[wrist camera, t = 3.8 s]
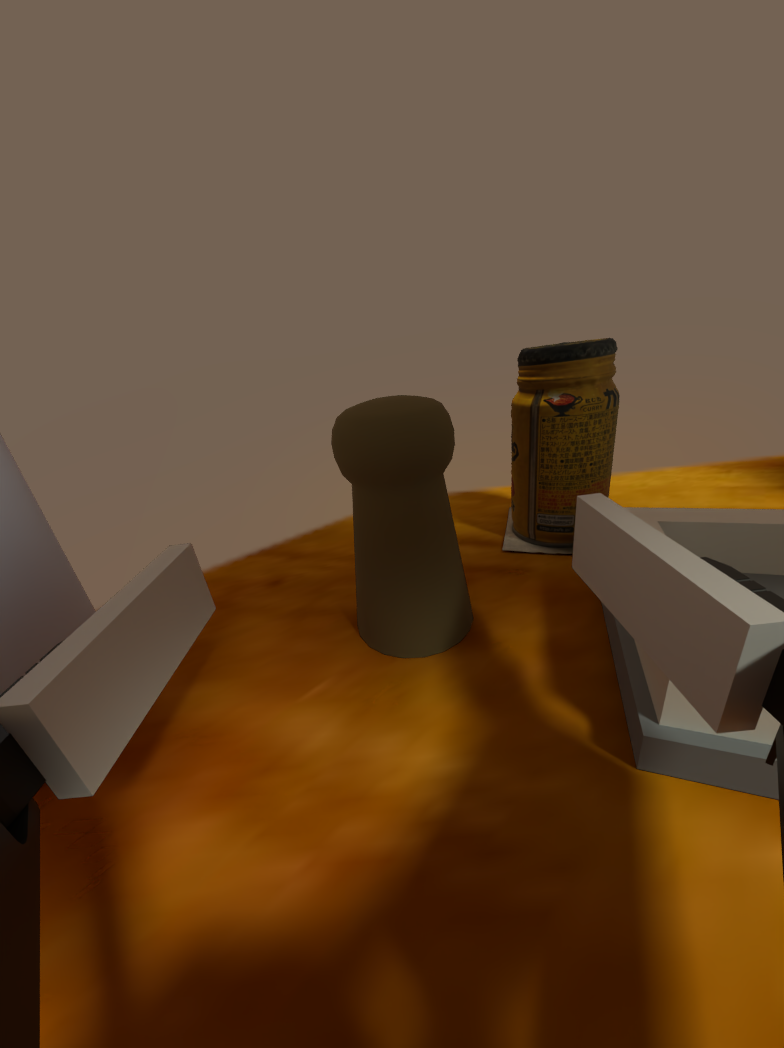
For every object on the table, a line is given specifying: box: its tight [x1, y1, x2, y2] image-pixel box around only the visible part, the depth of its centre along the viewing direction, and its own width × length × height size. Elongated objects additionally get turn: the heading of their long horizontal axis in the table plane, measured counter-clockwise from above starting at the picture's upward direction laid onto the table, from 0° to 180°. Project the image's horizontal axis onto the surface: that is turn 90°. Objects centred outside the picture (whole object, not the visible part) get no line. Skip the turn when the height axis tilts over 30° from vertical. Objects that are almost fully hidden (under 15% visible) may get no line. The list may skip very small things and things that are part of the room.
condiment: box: [502, 338, 619, 554], centre depth 24 cm, size 7×8×12 cm
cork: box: [332, 395, 473, 658], centre depth 18 cm, size 6×6×11 cm
